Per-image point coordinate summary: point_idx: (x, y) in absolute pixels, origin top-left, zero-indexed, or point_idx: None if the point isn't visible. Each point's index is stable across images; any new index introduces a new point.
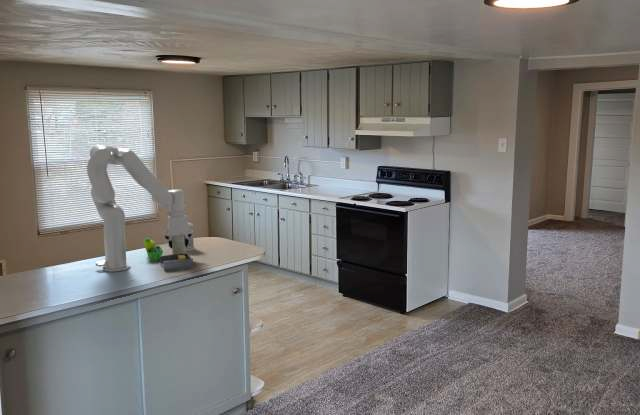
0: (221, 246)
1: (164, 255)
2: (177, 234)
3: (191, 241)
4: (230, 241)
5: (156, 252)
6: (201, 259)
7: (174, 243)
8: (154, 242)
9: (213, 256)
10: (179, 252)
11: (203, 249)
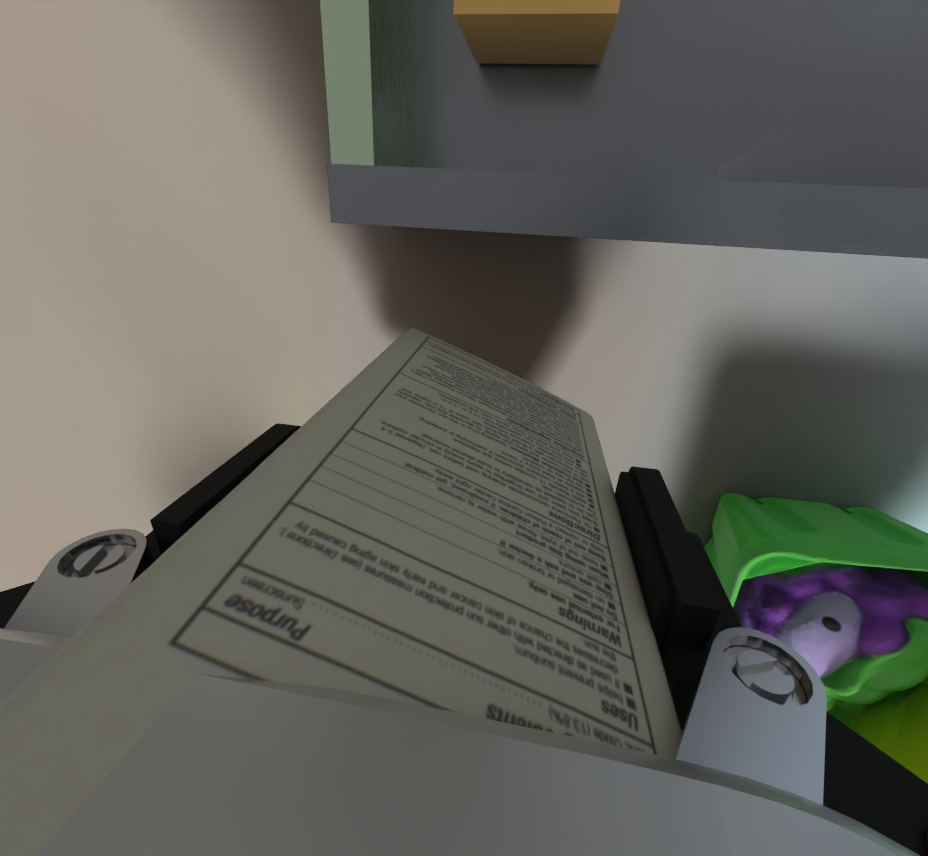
0: None
1: (902, 230)
2: (391, 804)
3: None
4: None
5: (883, 557)
6: (206, 250)
7: (568, 527)
8: None
9: (67, 328)
10: (481, 374)
11: None
